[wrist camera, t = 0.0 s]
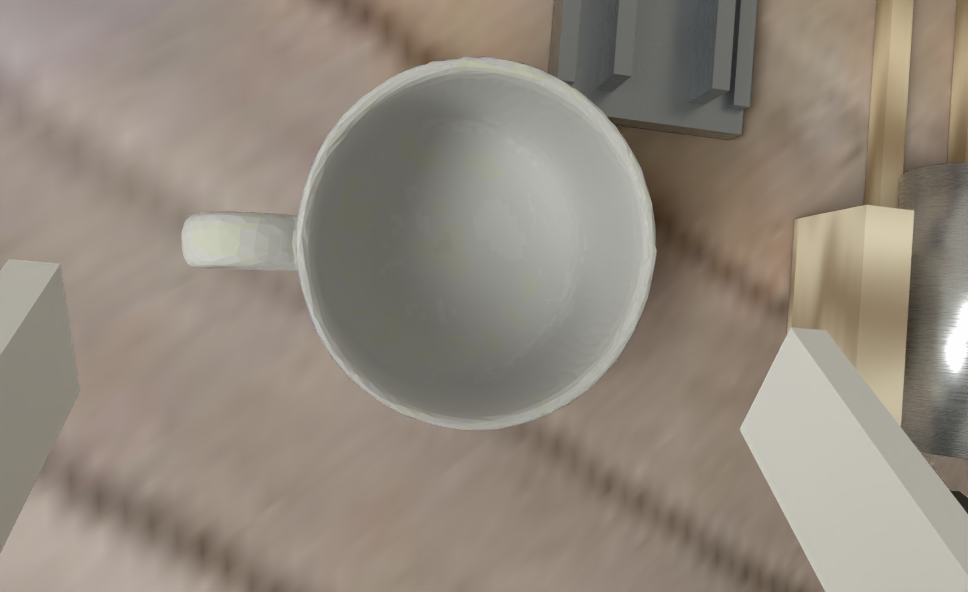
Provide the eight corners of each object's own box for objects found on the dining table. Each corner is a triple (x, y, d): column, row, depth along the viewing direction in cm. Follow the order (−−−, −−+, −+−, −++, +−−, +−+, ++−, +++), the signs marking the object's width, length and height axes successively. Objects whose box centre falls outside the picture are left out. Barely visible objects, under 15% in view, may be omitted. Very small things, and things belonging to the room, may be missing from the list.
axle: (959, 443, 33) (1067, 466, 28) (856, 437, 32) (950, 460, 27) (974, 192, 33) (1083, 171, 28) (873, 179, 32) (968, 155, 28)
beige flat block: (1014, 422, 34) (1114, 439, 30) (782, 407, 32) (852, 422, 28) (1042, -68, 35) (1143, -123, 30) (817, -115, 33) (891, -181, 28)
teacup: (602, 158, 31) (691, 105, 23) (552, 422, 30) (626, 461, 22) (252, 72, 28) (218, -20, 20) (191, 358, 28) (131, 376, 20)
